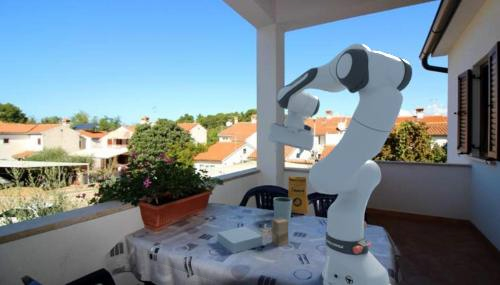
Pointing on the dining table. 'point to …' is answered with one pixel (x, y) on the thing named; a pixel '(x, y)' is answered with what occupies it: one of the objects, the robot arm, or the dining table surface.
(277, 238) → the walnut block
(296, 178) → the coffee package
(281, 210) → the embossed ceramic cup
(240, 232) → the slate base
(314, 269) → the dining table surface
